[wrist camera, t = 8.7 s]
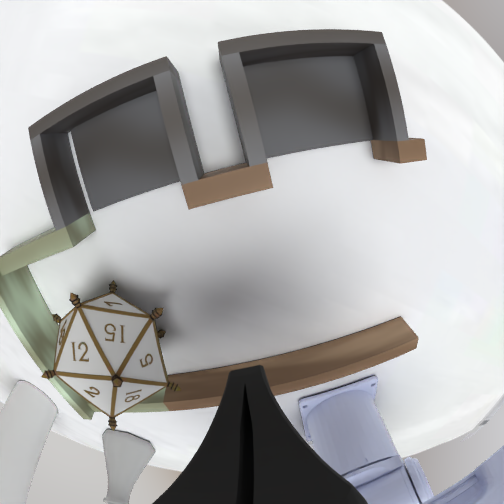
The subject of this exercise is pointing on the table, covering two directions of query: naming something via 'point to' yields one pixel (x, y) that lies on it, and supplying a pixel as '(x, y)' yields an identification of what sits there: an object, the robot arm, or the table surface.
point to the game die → (110, 353)
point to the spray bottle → (22, 439)
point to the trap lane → (212, 178)
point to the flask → (124, 463)
